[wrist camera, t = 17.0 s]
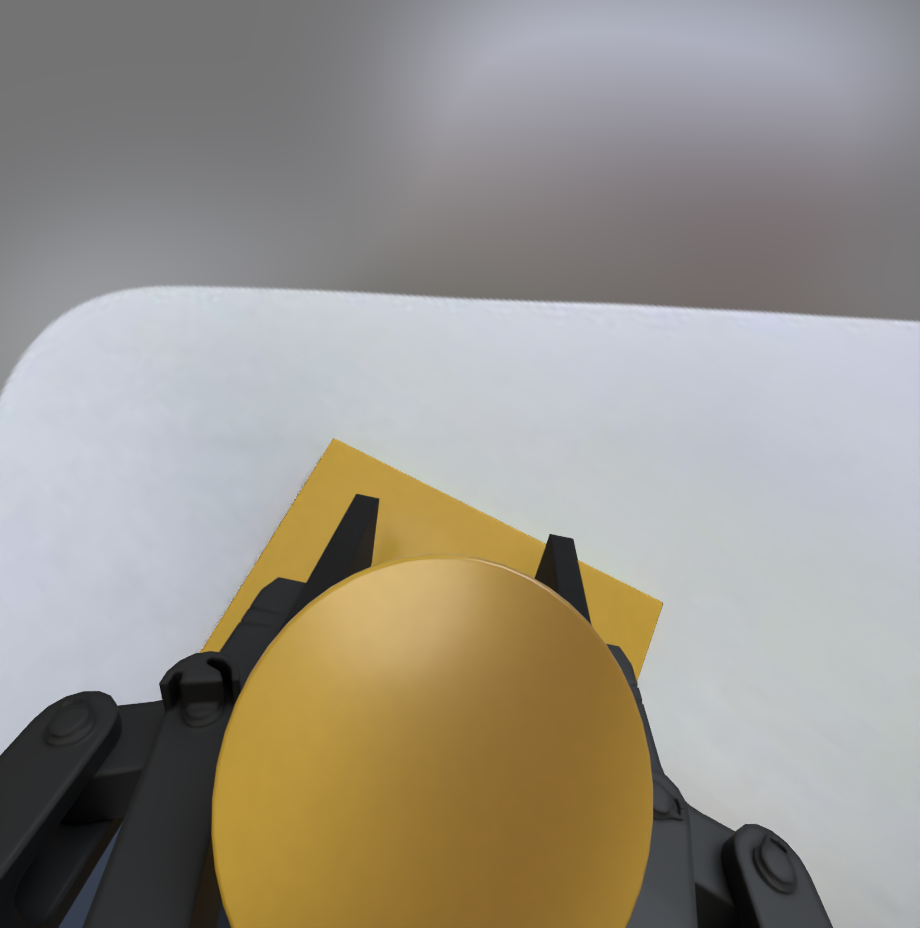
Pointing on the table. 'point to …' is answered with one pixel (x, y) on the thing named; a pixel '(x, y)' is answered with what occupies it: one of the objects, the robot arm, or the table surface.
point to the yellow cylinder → (433, 761)
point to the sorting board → (401, 535)
